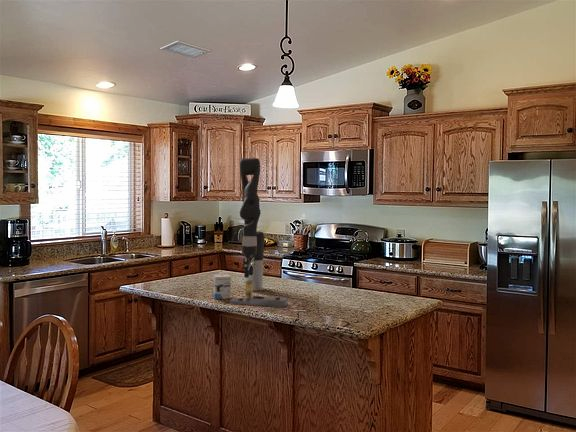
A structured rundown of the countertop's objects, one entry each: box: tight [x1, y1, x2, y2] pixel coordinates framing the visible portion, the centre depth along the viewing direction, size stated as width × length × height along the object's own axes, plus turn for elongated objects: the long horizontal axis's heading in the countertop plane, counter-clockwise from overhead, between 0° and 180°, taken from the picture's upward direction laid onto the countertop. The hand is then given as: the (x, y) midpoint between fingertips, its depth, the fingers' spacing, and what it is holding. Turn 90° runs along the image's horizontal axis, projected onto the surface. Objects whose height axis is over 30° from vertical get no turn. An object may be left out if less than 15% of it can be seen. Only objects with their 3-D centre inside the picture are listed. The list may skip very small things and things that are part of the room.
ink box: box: [212, 274, 232, 300], centre depth 274 cm, size 8×5×12 cm, turn 105°
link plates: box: [229, 295, 289, 308], centre depth 261 cm, size 7×28×4 cm, turn 80°
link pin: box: [244, 280, 253, 299], centre depth 269 cm, size 4×4×10 cm
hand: (248, 276), depth 269 cm, fingers open, 8 cm apart
